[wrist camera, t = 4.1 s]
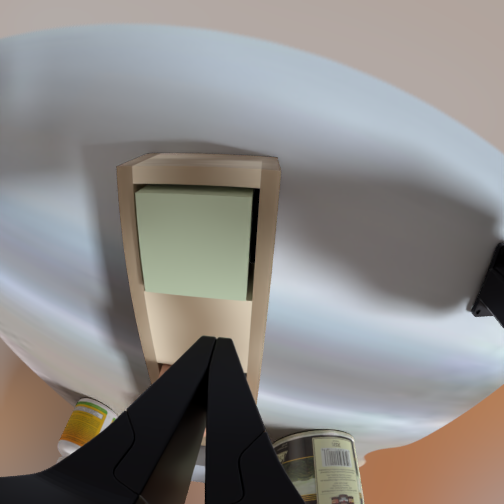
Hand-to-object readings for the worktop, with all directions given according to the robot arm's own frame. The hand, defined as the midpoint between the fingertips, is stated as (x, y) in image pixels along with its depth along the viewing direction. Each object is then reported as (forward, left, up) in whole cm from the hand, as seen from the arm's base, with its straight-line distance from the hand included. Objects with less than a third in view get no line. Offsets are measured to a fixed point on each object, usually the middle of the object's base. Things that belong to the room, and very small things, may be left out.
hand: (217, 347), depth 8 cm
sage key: (+2, 0, -10) cm, 10 cm away
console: (+2, +11, -10) cm, 15 cm away
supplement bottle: (+16, +24, -10) cm, 30 cm away
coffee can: (-9, +27, -10) cm, 30 cm away
